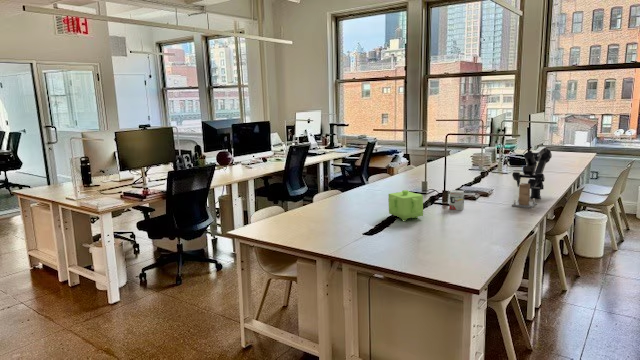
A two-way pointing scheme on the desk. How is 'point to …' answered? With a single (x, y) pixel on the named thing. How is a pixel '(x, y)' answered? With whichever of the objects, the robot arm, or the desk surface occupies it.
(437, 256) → the desk surface
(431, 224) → the desk surface
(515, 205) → the peg plate
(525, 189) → the walnut block
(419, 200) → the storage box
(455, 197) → the ink box
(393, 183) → the desk surface
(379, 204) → the desk surface
